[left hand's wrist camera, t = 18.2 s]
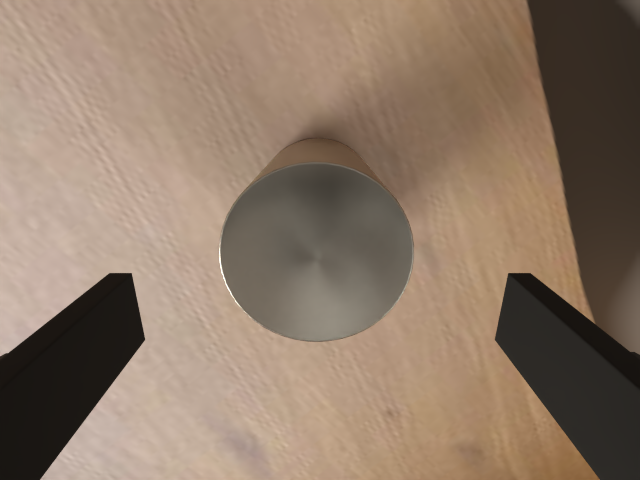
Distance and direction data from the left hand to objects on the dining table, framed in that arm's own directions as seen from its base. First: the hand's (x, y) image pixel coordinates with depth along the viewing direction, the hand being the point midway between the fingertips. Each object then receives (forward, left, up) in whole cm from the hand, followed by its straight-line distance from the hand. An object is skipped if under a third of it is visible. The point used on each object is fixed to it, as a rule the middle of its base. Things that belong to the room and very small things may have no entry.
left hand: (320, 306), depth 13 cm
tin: (0, 0, -17) cm, 17 cm away
